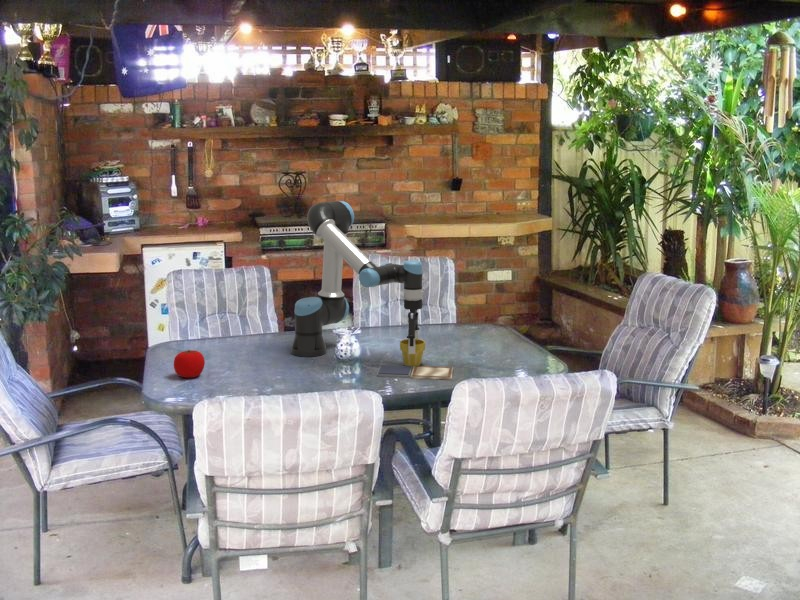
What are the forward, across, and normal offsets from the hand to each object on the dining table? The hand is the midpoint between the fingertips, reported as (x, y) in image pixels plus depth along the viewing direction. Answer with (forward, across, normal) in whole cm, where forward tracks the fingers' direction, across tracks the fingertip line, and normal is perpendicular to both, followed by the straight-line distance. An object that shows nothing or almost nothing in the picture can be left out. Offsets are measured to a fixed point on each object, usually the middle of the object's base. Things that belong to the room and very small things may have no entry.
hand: (413, 349), depth 374 cm
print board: (+7, -13, -9) cm, 17 cm away
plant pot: (+7, 0, 0) cm, 7 cm away
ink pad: (+6, -13, +6) cm, 16 cm away
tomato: (+6, -28, +85) cm, 90 cm away
